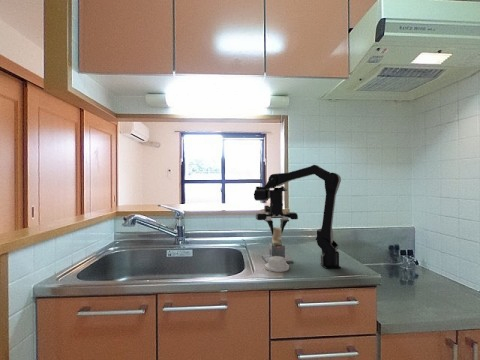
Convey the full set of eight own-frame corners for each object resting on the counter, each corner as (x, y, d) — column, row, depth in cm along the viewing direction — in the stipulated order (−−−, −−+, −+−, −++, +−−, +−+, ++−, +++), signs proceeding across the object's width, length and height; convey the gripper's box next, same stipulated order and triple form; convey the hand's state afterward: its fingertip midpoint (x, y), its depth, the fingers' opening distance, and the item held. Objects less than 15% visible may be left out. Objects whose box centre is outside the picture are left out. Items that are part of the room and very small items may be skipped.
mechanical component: (265, 264, 119) (264, 272, 110) (265, 254, 120) (264, 261, 110) (288, 265, 118) (289, 273, 108) (288, 255, 118) (289, 261, 108)
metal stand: (286, 255, 133) (285, 241, 133) (293, 262, 121) (293, 246, 121) (261, 256, 132) (261, 242, 132) (266, 263, 120) (266, 247, 120)
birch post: (279, 248, 129) (279, 227, 129) (281, 250, 125) (281, 228, 125) (271, 248, 128) (271, 227, 128) (273, 250, 124) (273, 228, 125)
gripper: (291, 199, 136) (291, 231, 135) (253, 200, 134) (254, 232, 134) (298, 201, 125) (298, 235, 124) (257, 201, 123) (257, 236, 123)
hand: (276, 234), depth 127 cm, fingers closed on birch post, 3 cm apart
